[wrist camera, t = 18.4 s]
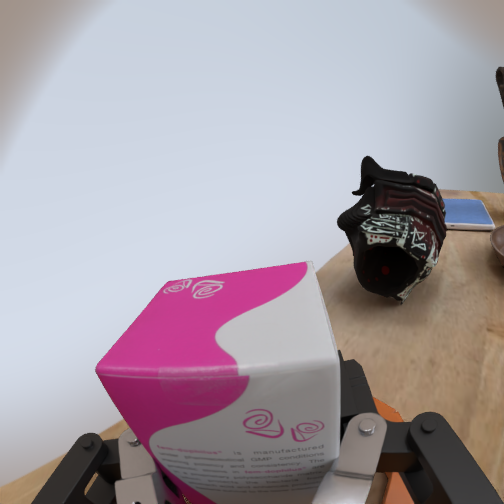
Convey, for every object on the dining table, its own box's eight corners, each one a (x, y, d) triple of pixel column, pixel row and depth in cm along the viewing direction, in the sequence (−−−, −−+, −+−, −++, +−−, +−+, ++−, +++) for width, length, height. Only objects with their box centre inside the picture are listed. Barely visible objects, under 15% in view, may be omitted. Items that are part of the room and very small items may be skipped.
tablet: (495, 232, 35) (496, 224, 34) (427, 229, 42) (427, 221, 42) (482, 205, 49) (482, 199, 48) (431, 203, 56) (431, 197, 56)
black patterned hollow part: (477, 315, 20) (457, 236, 30) (422, 165, 16) (406, 127, 26) (380, 343, 27) (389, 263, 37) (301, 225, 23) (331, 168, 33)
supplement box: (328, 441, 14) (317, 254, 10) (334, 529, 8) (350, 368, 5) (229, 446, 15) (164, 274, 11) (212, 530, 9) (81, 374, 6)
